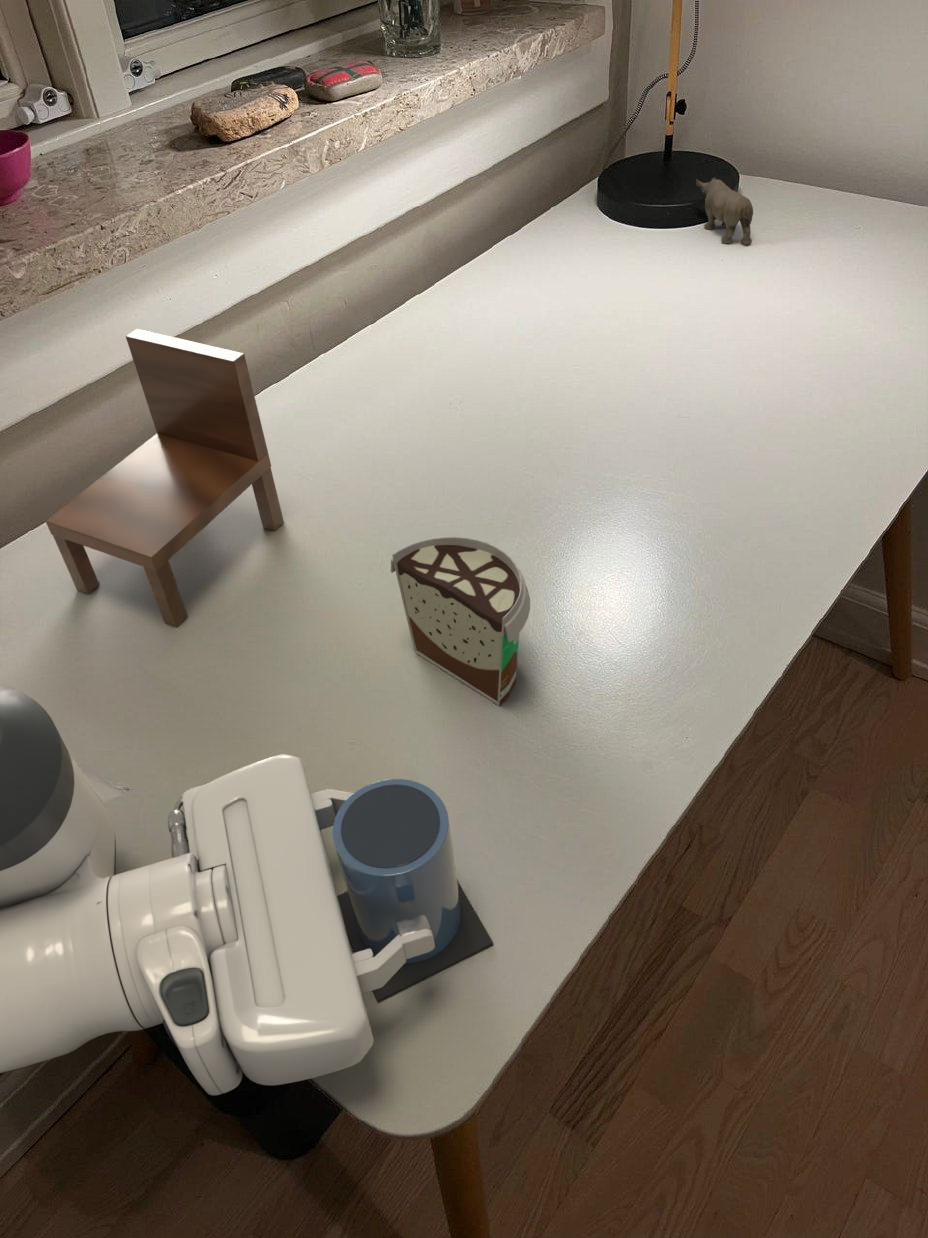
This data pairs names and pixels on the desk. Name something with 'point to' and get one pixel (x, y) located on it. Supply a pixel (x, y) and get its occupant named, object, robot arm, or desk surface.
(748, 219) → the rhino figurine
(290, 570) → the desk surface
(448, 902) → the cup
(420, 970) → the mat
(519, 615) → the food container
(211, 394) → the miniature wooden chair
